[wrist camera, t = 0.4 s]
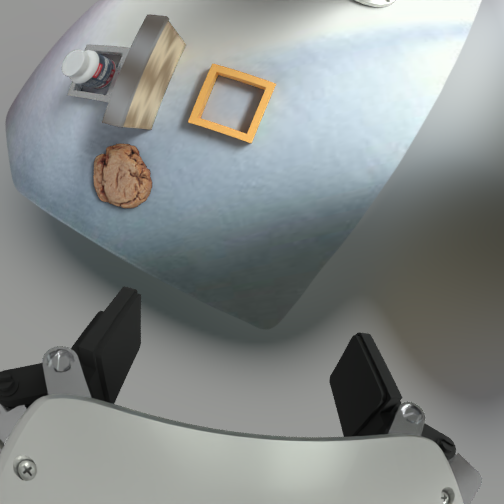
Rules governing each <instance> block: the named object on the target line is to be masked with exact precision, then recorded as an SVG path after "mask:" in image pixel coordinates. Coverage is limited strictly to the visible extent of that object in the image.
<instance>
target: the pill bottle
mask: <svg viewBox="0 0 504 504" xmlns="http://www.w3.org/2000/svg"><path fill="white" fill-rule="evenodd" d="M115 71H116V65H115V63H114V62H113V61H112V60H111V59H109V58H107V57H105V56H103V55H101V54H99V53H97V52H95V51H92V50H86V51H82V50H74V51H72V52H70V53H69V54H68V55H67V56H66V58H65V59H64V61H63V64H62V72H63V74H64V75H65V76H68V77H70V79H71V80H72V81H73V82H74V83H77V84H81V85H84V86H88V87H92V88H95V89H100V88H103V87H105V86H107V85H108V84H109V83H110V82H111V81H112V79H113V76H114V74H115Z"/></svg>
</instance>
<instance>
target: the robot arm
mask: <svg viewBox="0 0 504 504" xmlns="http://www.w3.org/2000/svg"><path fill="white" fill-rule="evenodd" d="M355 1H357V2H359V3H362V4H364V5H368V6H373V7H386V6H389V5H391V4H392V3H394V2H395V1H396V0H355ZM140 325H141V295H140V294H137V290H136V289H132V288H128V287H123V288H122V289H121V291H120V292H119V293H118V294H117V296H116V297H115V298H114V299H113V301H112V302H111V303H110V305H109V306H108V307H107V308H106V310H105V311H104V312H103V311H100V312H98V313H97V315H96V316H95V318H93V320H92V321H91V322H90V324H89V325H88V326H87V328H86V329H85V330H84V332H83V333H82V334H81V336H80V337H79V338H78V340H77V341H76V342H75V344H74V345H73V346H72V348H71V349H70V348H68V347H63V346H59V347H58V346H57V347H54V348H51V349H50V350H48V351H47V352H46V353H45V354H44V356H43V362H42V363H40V364H35V365H30V366H25V367H20V368H16V369H10V370H5V371H2V372H0V504H470V503H471V501H472V500H473V498H474V496H475V495H476V493H477V491H478V489H479V487H480V486H481V483H482V478H481V475H480V474H479V472H478V471H477V470H476V469H474V467H472V466H471V465H470V464H469V463H468V462H467V461H466V460H465V459H464V458H463V457H462V456H461V455H460V454H459V453H458V454H455V452H456V448H455V445H454V443H453V441H452V440H451V439H450V438H449V437H447V436H445V435H444V434H442V433H440V432H438V431H437V430H435V429H433V428H432V427H430V426H428V425H426V424H425V413H424V412H423V410H422V408H421V407H420V406H418V405H416V404H415V403H413V402H404V403H402V404H401V402H400V400H401V399H402V396H401V394H400V392H399V390H398V388H397V386H396V383H395V381H394V379H393V378H392V375H391V373H390V371H389V369H388V368H387V365H386V363H385V362H384V359H383V357H382V356H381V354H380V352H379V350H378V348H377V346H376V344H375V342H374V340H373V338H372V337H371V335H370V334H366V333H357V334H356V335H354V336H353V337H352V338H351V340H350V342H349V344H348V346H347V348H346V349H345V351H344V353H343V355H342V357H341V359H340V360H339V362H338V364H337V366H336V367H335V369H334V371H333V372H332V374H331V376H330V385H331V389H332V392H333V396H334V400H335V404H336V408H337V412H338V415H339V419H340V423H341V427H342V431H343V435H344V437H286V436H270V435H259V434H249V433H241V432H233V431H225V430H220V429H213V428H208V427H202V426H197V425H192V424H186V423H182V422H178V421H173V420H169V419H165V418H161V417H157V416H153V415H149V414H146V413H142V412H139V411H135V410H132V409H129V408H125V407H122V406H118V405H115V404H114V403H115V400H116V398H117V396H118V394H119V391H120V389H121V387H122V385H123V383H124V380H125V378H126V376H127V374H128V372H129V369H130V367H131V365H132V363H133V361H134V359H135V357H136V354H137V352H138V351H139V348H140V344H141V330H140V329H141V326H140ZM7 437H8V439H7V441H6V443H5V440H6V438H7ZM4 443H5V445H4Z"/></svg>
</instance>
